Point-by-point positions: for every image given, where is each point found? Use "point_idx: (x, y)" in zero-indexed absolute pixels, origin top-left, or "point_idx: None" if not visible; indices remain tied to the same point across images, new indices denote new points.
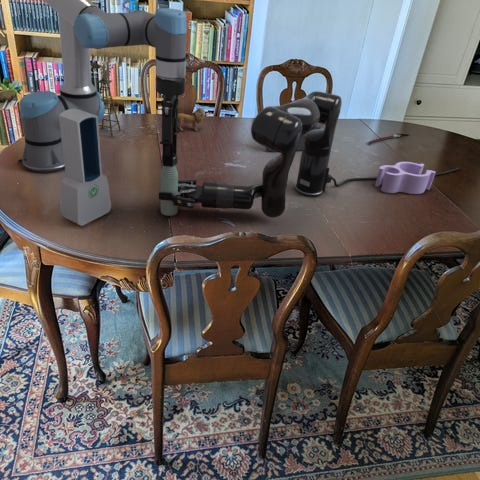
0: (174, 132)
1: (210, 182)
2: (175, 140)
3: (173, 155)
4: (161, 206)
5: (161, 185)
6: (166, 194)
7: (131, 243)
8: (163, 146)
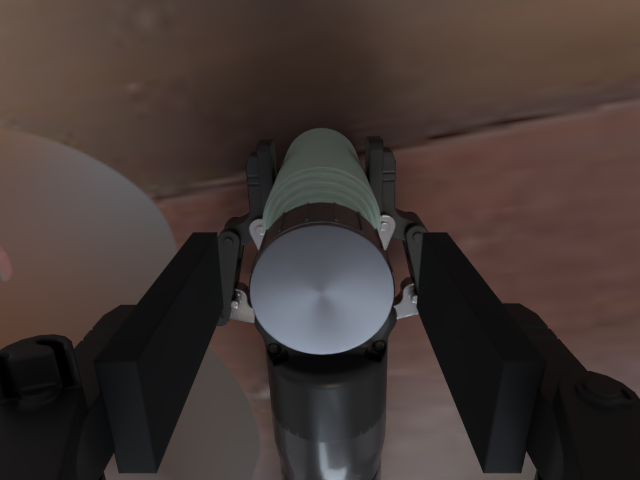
0: (538, 462)
1: (344, 411)
2: (459, 403)
3: (317, 326)
4: (300, 139)
5: (291, 161)
6: (261, 187)
7: (22, 47)
8: (118, 341)
